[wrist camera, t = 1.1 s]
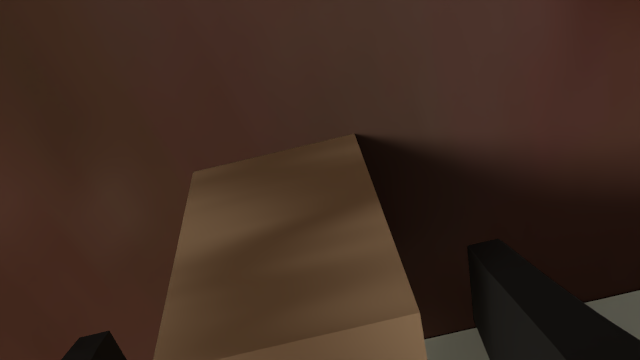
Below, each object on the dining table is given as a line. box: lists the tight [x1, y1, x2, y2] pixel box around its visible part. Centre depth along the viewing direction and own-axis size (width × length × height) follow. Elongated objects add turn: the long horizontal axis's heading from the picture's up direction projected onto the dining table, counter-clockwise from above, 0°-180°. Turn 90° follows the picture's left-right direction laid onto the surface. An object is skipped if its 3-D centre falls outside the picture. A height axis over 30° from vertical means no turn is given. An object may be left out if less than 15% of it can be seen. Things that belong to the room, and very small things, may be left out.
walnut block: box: [153, 134, 427, 360], centre depth 11 cm, size 4×4×6 cm
